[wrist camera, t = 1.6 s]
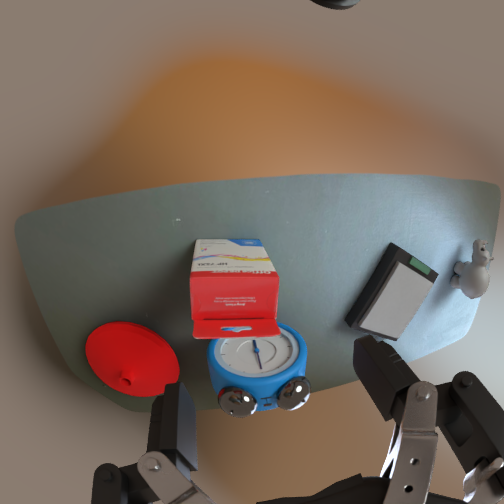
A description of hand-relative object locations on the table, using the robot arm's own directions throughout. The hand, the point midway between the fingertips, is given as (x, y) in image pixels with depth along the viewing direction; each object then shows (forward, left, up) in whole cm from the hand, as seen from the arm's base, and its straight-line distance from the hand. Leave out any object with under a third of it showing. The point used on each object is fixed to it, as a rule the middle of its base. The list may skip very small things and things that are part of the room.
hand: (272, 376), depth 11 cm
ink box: (+4, +1, -26) cm, 26 cm away
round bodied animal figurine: (-14, +46, -26) cm, 54 cm away
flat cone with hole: (+25, -6, -26) cm, 36 cm away
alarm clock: (+14, +10, -26) cm, 31 cm away
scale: (-1, +30, -26) cm, 40 cm away
